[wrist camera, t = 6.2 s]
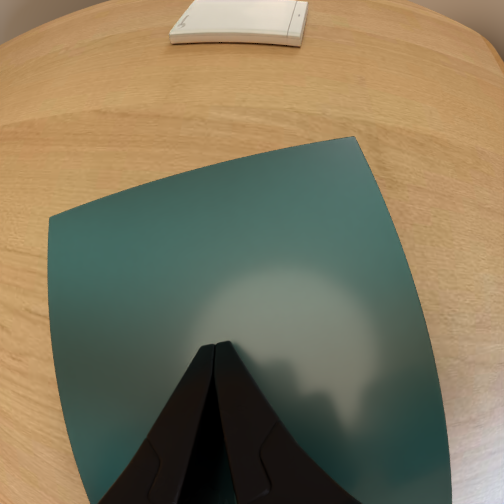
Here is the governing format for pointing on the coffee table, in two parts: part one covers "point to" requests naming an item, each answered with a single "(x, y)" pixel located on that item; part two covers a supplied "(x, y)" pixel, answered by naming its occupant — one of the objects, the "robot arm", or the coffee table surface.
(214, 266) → the lid
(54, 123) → the coffee table surface
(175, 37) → the hard drive
